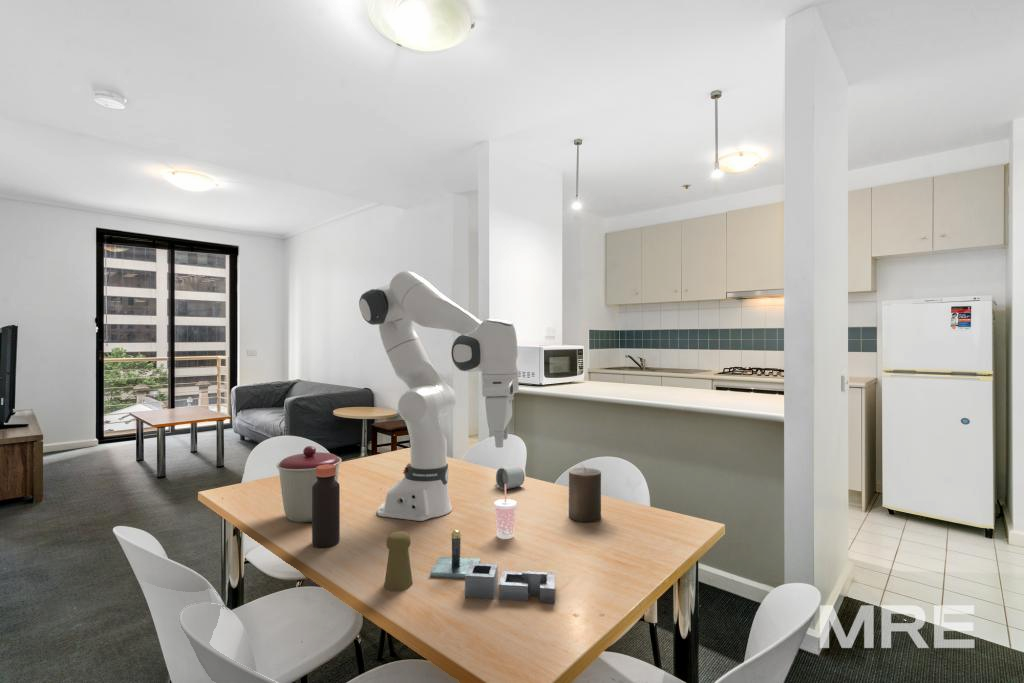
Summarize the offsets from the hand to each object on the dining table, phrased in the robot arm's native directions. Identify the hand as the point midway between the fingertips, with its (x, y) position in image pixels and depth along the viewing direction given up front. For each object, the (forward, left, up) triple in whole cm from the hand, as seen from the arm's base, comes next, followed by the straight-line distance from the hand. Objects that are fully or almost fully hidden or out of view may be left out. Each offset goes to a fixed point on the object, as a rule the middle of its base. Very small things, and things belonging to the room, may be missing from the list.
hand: (501, 442), depth 121 cm
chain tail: (+7, -15, -28) cm, 33 cm away
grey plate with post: (-10, -6, -28) cm, 31 cm away
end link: (-2, -15, -28) cm, 32 cm away
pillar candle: (+21, +32, -29) cm, 48 cm away
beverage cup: (-1, +15, -29) cm, 32 cm away
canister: (-61, +23, -29) cm, 71 cm away
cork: (-21, -14, -29) cm, 38 cm away
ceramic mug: (-5, +59, -29) cm, 66 cm away
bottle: (-47, +5, -29) cm, 55 cm away
